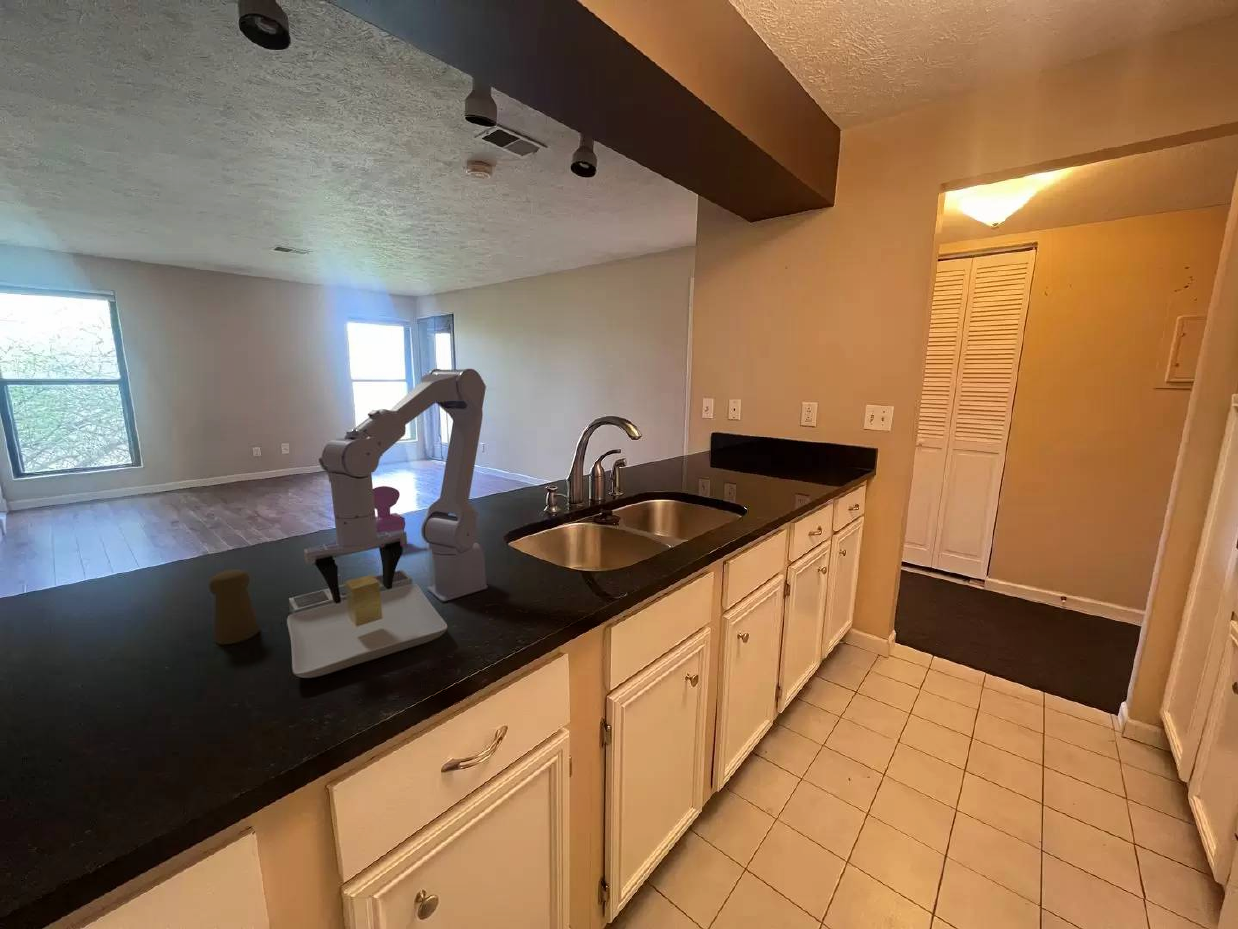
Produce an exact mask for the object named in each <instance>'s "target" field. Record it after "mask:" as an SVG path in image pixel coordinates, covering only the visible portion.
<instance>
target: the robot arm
mask: <svg viewBox="0 0 1238 929" xmlns="http://www.w3.org/2000/svg"><path fill="white" fill-rule="evenodd" d="M486 388H487V385H486V384H485V382H484V380H483V378H482V376H481V375H480V373H479V372H478V371H477V370H475V369H474V368H465V369H440V368H435V369H432V370H430V371H429V372H428V373H426V374H425V375H423V376H421V381H420V382H419V383H418V384H417V385H416V386H415V387H414V388H413V389H412V390H410V392H409V393H407V394H406V395H405V396H404V397H403V398H402V399H401V400H400V401H399V402H397V403H396V404H395V405H394V406H393V407H391V409H385V408H381V409H372V410H371V411H370V412H368V413H367V417H368V418H366V419H365V420H363V421H362V422H361V423H360V424H359V425H357V426H356V427H354V428H350V429H348V430H346V432H345V434H346V435H345V436H344V438H334V439H332V440H330V441H329V442H328V443H327V444H325V446H324V447H323V450H322V452H321V457H318V462H319V465H320V468H321V469H322V470H323V472H325V473H326V474H327V477H328V482H329V483H330V489H331V490H330V491H331V498H332V508H333V517H334V525H335V535H336V540H333V541H331V542H327V543H325V544H320V545H317V546H314V547H313V546H312V547H310V548H304V549H303V553H304V561H305V563H306V565H308V566H310V565H313V564H314V565H315V566H316V568H317V569H318V571H319V572H320V574H321V575H322V577H323V578H324V580H325V582H326V584H327V586H328V588H329V589H330V591H331V594H332V598H333V601H334V602H335V603H336V604H337V603H341V596H340V591H339V586H340V585H339V570H338V569H339V566H338V565H337V564H336V560H335V559H336V558H338V557H344V556H347V555H351V554H357V553H361V552H365V551H371V550H375V549H378V550H379V553H380V559H381V566H382V575H383V583H384V586H385V587H386V588H387V589H392V582H393V577H394V573H395V571H396V569H397V565H398V564H399V561H400V559H401V557H402V555H403V552H404V549H403V548H404V547H402V546H400V544H404V543H406V544H407V543H408V539H407V538H408V537H407V536H408V535H407V532H406V531H405V529H404V530H397V531H390V532H381V533H377V527H376V509H375V506H374V495H373V489H374V488H373V487H374V486H373V478H372V473H374V472H376V470H377V468H378V466H379V463H380V459H381V457H382V456H383V454H385V453H386V452H387V451H389V449H390V448H391V447H392V446H394V445H395V444H396V443H397V442H399V441H400V440H401V438H403V437H404V436H405V435H406V428H407V427H406V425H408V424H409V423H410V422H411V421H413V420H414V419H415V418H417V417H418V416H420V415H421V414H423V413H424V412H425V411H427V410H428V409H429V408H430V407H432V406H434V405H435V404H437V405H438V406H439V407H440V408H441V409H442V410H444V411H443V412H446V413H447V414H448V415H449V416H450V418H451V420H452V426H451V432H450V436H449V438H450V439H449V443H448V449H447V456H446V461H445V467H444V471H443V478H442V482H441V489H440V490H441V491H440V495H439V498H438V499H437V500H435V501H434V502H433V503H432V504H431V505H430V506H429V507H428V512H427V515H426V517H425V519H424V520H423V522H422V525H421V536H422V539H423V540H424V541H425V543H427V544H428V547H429V550H431V556H432V559H431V560H432V569H433V570H432V571H433V573H432V574H433V584H432V585H430V586H429V585H428V586H427V587H426V589H427V591H429V592H430V593H431V594H432V595H433V596H435V597H436V599H438V600H439V601H440V602H443V603H444V602H448V601H450V600H454V599H456V598H461V597H463V596H466V595H469V594H473V593H476V592H480V591H483V590H486V589H487V588H488V585H487V581H486V567H485V555H484V552H483V549H482V547H481V545H480V544H479V543H477V542H476V541H477V538H478V536H479V528H478V527H479V525H478V514H479V513H478V512H477V510H476V509H475V508H474V507H473V506H472V504H471V503H470V501H469V500H470V495H471V490H472V483H473V478H474V477H473V476H474V473H475V472H474V471H475V465H476V459H477V452H478V447H479V440H480V435H481V429H482V424H483V415H484V413H483V412H484V411H483V406H484V401H485V394H486V390H487V389H486ZM449 514H450V515H449ZM451 514H452V515H451ZM334 558H335V559H334Z"/></svg>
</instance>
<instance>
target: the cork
mask: <svg viewBox="0 0 1238 929" xmlns="http://www.w3.org/2000/svg"><path fill="white" fill-rule="evenodd" d="M250 580H251V579H250V575H249V573H247V572H246V570H242V569H230V570H224V571H222V572H219V573H216V574H215V575H213V576H212V577H211V578H210V580H209V582H208V587H209V591H210V593H211V594H212V595H213V596H214V599H215V600H214V643H216V644H217V645H230V644H236V643H240V642H243V641H247V640H249V639H250V638H253V637H254V636H256V635H257V634H258V633H259V632H260V631H261V628H260V625H259V621H258V619H257V616H256V613H255V610H254V607H253V604H252V601H251V598H250V595H249V592H248V587H249V586H250V583H251V581H250Z"/></svg>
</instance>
